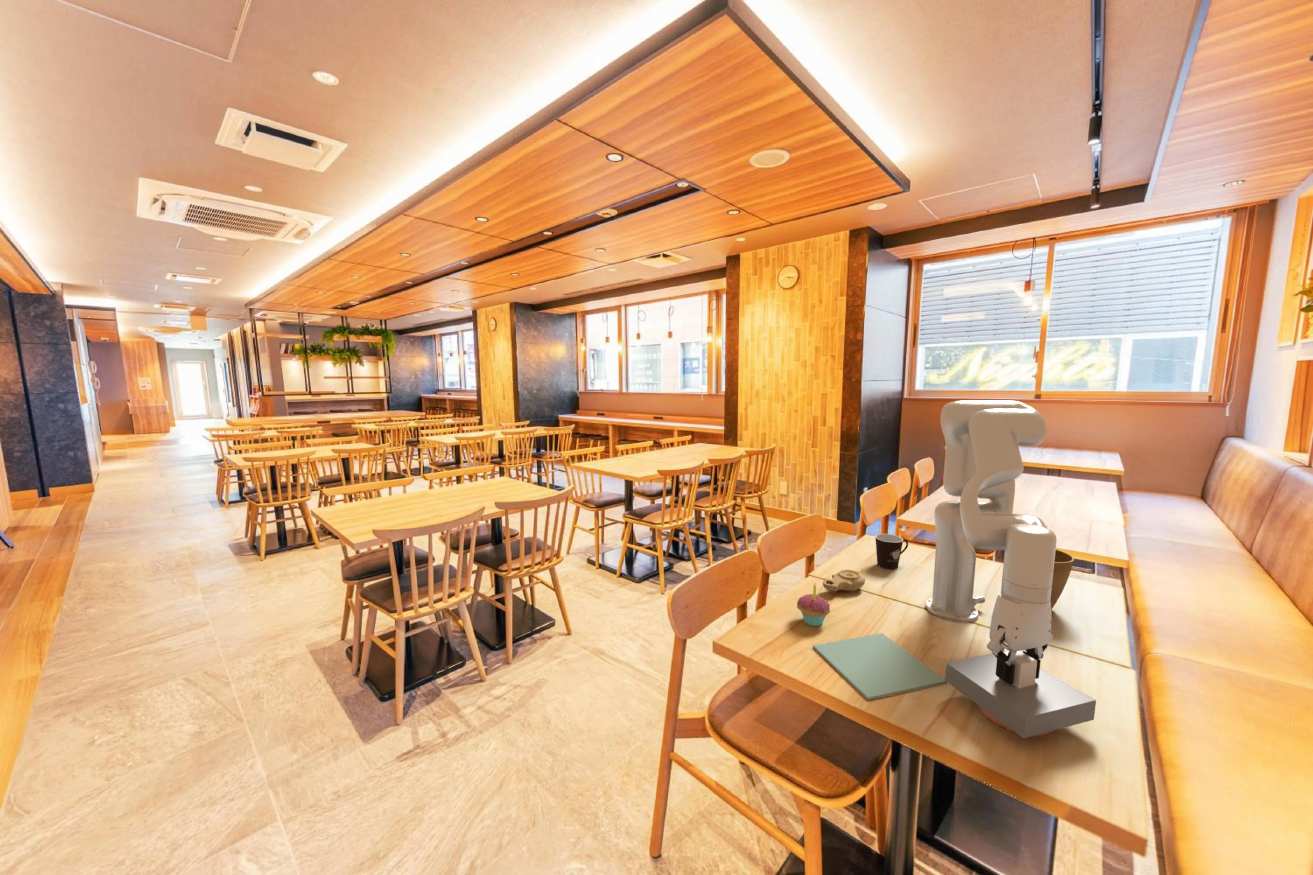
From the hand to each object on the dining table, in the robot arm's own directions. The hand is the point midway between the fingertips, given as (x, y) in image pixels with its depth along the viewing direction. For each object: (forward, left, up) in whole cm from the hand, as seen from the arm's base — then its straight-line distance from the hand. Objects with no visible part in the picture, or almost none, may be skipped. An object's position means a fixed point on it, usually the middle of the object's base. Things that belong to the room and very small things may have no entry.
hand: (1017, 676), depth 96 cm
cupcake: (+18, -42, -8) cm, 46 cm away
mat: (+15, -21, -8) cm, 27 cm away
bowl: (0, 0, -8) cm, 8 cm away
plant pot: (-47, -32, -8) cm, 57 cm away
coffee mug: (-29, -67, -8) cm, 73 cm away
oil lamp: (-2, -56, -8) cm, 57 cm away
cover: (0, 0, -5) cm, 5 cm away
